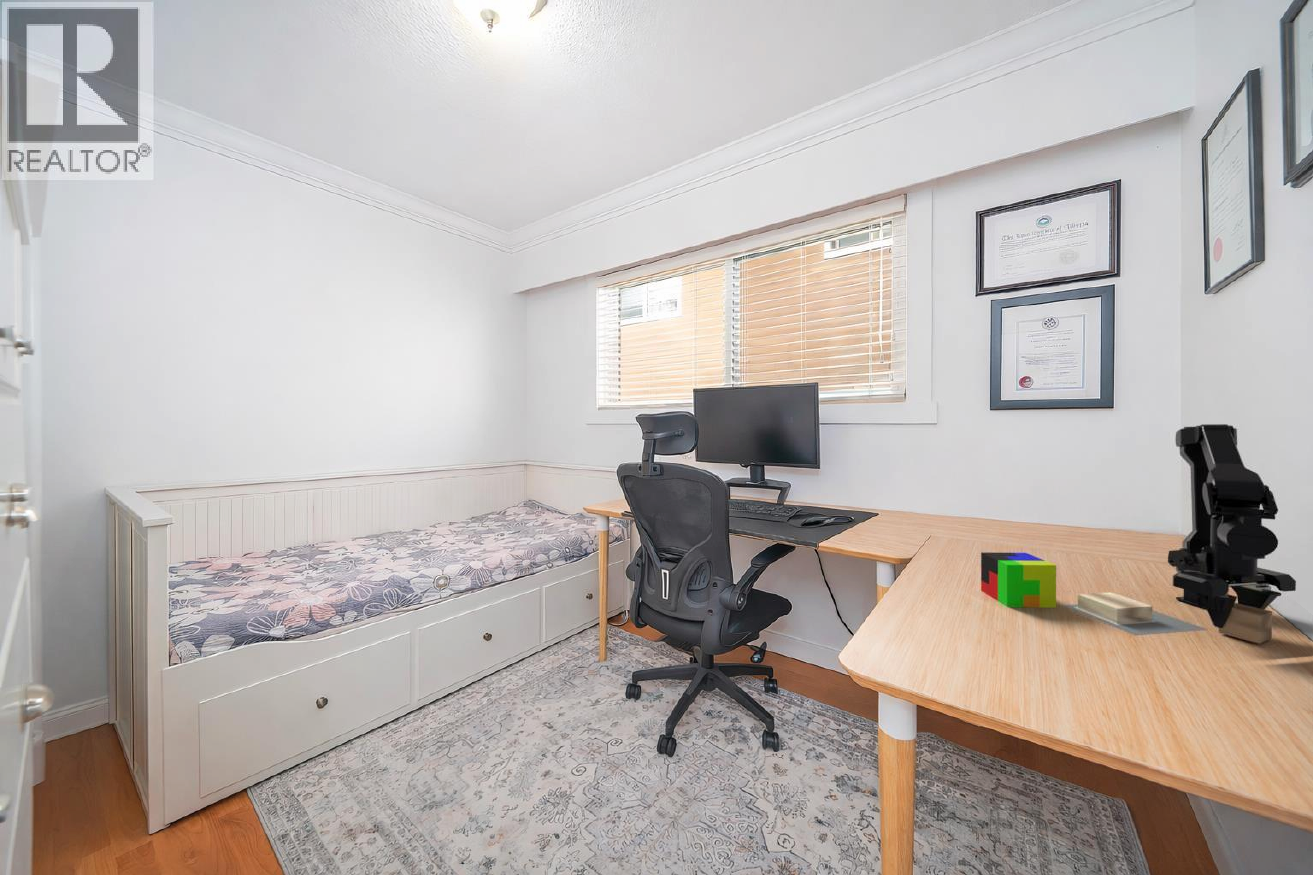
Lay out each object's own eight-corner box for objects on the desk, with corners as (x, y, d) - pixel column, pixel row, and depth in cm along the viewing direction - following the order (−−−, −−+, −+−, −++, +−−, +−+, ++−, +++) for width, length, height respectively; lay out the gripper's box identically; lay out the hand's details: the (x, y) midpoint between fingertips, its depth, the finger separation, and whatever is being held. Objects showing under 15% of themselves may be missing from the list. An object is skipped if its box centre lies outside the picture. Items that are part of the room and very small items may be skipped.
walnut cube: (1231, 627, 93) (1231, 602, 93) (1271, 638, 88) (1272, 611, 88) (1218, 632, 91) (1219, 606, 91) (1259, 643, 86) (1260, 616, 86)
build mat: (1125, 603, 108) (1125, 600, 108) (1209, 632, 93) (1209, 629, 93) (1060, 607, 106) (1060, 605, 106) (1135, 638, 92) (1135, 635, 92)
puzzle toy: (1025, 594, 115) (1025, 552, 115) (1055, 610, 105) (1056, 565, 105) (981, 593, 116) (981, 552, 116) (1006, 609, 106) (1007, 564, 106)
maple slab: (1110, 605, 105) (1111, 592, 105) (1152, 620, 98) (1152, 606, 97) (1077, 608, 105) (1078, 594, 105) (1116, 623, 97) (1117, 608, 97)
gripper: (1222, 532, 100) (1220, 606, 100) (1142, 536, 98) (1140, 612, 98) (1299, 546, 89) (1297, 629, 89) (1210, 551, 87) (1208, 636, 87)
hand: (1231, 626), depth 91 cm, fingers closed on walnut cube, 5 cm apart
